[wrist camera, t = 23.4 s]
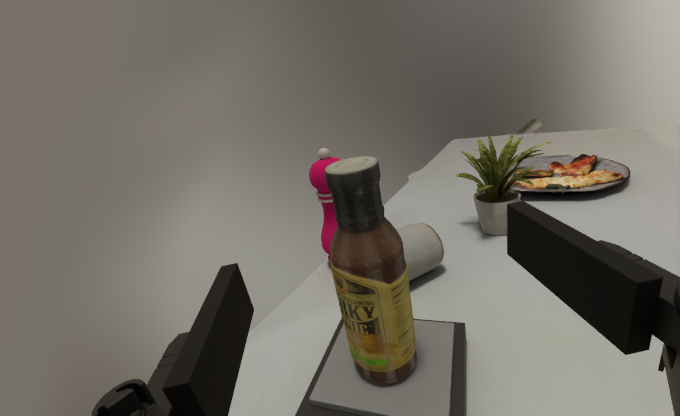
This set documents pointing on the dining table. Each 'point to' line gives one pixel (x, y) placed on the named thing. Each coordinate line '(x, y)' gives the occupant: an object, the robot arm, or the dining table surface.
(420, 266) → the ceramic mug
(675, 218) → the dining table surface
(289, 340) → the dining table surface
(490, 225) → the house plant
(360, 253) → the sauce bottle
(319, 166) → the pepper mill
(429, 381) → the scale
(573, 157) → the food plate
